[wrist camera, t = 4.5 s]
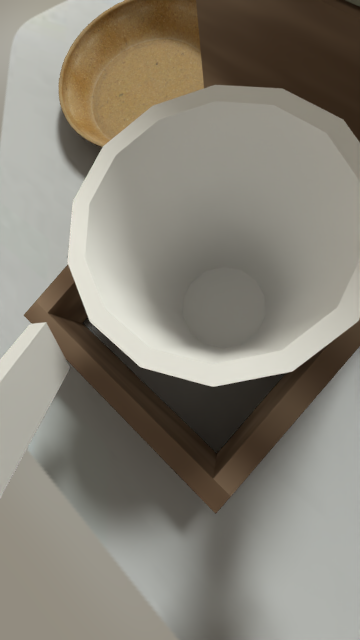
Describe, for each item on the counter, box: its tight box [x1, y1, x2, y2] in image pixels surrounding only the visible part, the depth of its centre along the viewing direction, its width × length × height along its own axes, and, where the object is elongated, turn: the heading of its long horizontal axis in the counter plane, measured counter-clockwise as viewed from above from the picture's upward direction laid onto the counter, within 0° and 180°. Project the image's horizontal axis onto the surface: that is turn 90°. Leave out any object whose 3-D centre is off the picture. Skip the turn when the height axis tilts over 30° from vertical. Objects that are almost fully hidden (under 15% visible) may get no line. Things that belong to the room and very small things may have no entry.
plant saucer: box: [59, 0, 204, 147], centre depth 24 cm, size 15×15×3 cm
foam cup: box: [67, 85, 360, 387], centre depth 15 cm, size 10×9×13 cm
